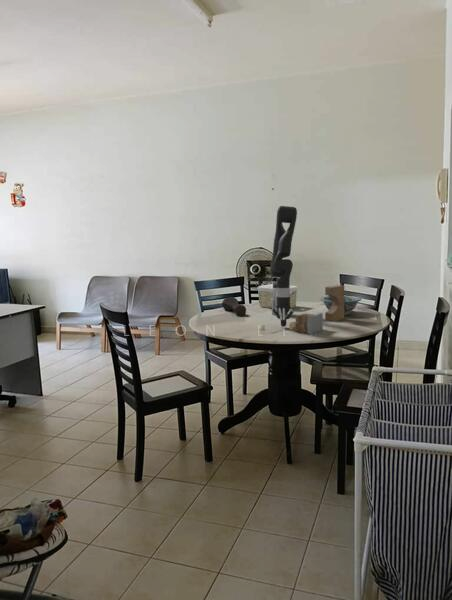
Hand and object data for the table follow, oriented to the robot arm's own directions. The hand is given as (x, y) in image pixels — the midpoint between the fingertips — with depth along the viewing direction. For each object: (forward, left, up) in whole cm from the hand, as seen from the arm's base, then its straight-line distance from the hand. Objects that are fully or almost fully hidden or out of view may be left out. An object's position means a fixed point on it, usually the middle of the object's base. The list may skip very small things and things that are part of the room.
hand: (283, 326), depth 267 cm
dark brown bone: (-52, +26, -1) cm, 58 cm away
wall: (+20, -1, -1) cm, 20 cm away
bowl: (+11, +53, -1) cm, 55 cm away
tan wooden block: (+11, -1, -1) cm, 11 cm away
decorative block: (+16, +33, -1) cm, 37 cm away
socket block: (+15, -1, -1) cm, 15 cm away
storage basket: (-37, +57, -1) cm, 68 cm away
